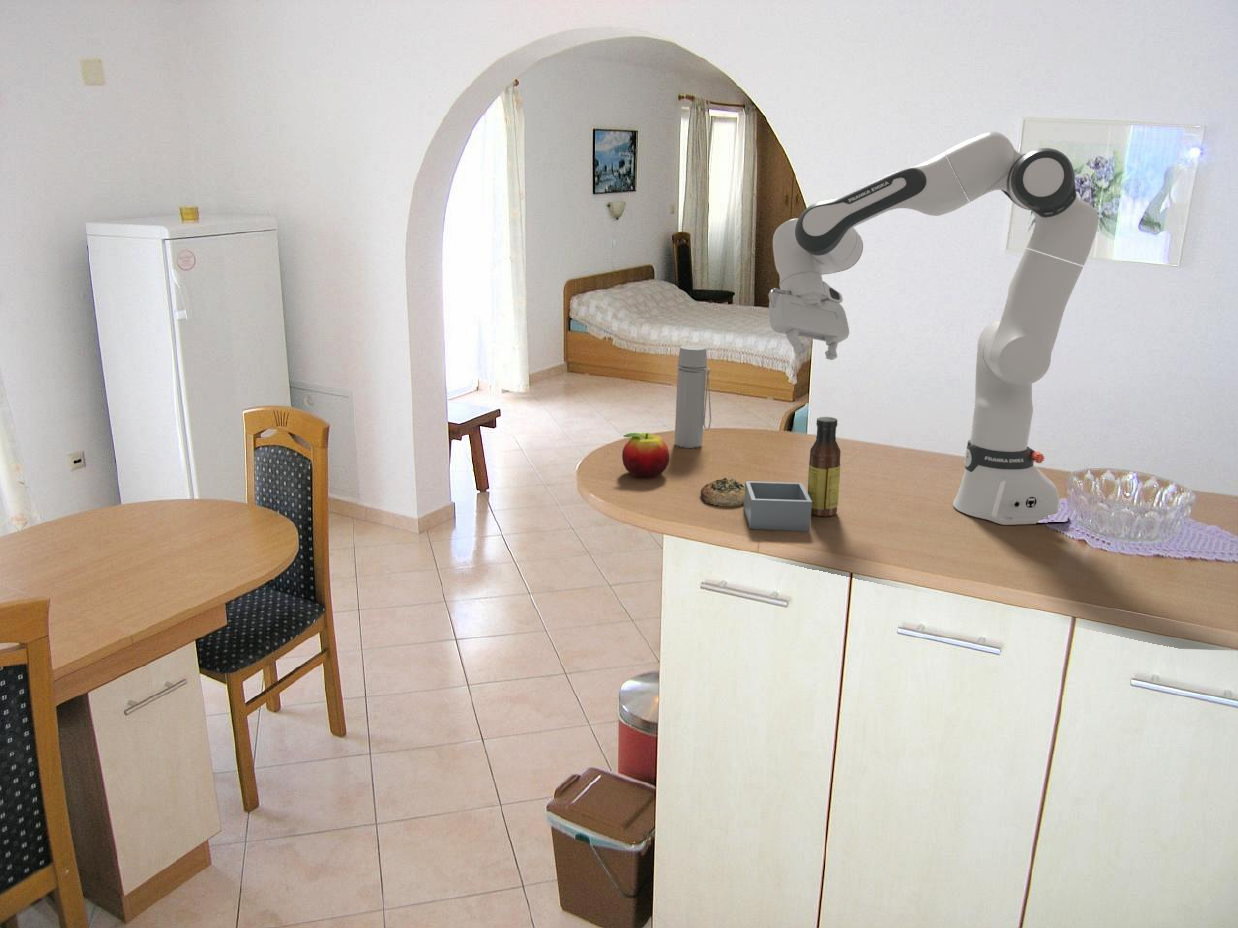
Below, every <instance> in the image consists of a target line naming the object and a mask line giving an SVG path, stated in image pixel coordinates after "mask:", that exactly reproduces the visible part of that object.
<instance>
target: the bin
mask: <svg viewBox="0 0 1238 928" xmlns="http://www.w3.org/2000/svg"><path fill="white" fill-rule="evenodd" d="M744 487H745V493H744V504H743V511H744V515H745V518H746V521H747V524H748V525H747V526H748V527H749V529H750V530H764V531H765V530H768V531H769V530H770V531H774V530H775V531H796V532H797V531H799V532H800V531H803V532H810V528H811V518H812V514H811V508H812V501H811V499H810V497H809V495H808V490H807V489H806V488H805V485H804V483H803V482H782V481H781V482H780V481H754V480H753V481H752V480H751V481H748V480H746V481H745V483H744Z"/></svg>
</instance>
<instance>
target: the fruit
mask: <svg viewBox="0 0 1238 928" xmlns="http://www.w3.org/2000/svg"><path fill="white" fill-rule="evenodd" d="M623 437H624V438H630V439H628V440H627V441H626V443H625V444H624V446H623V449H622V454H621V457H622V458H621V459H622V464H623V467H624V468H625V470H626V471H627V473H629V474H630V475H632V476H633V477H635V478H641V479H652V478H653V479H654V478H657V477H659V476H660V475H661V474H663V472H664V471H665V470H666V469H667V466H668V465H669V462H670V453H669V447H668V445H667V444H666V442H665V440H664V439H663V438H662V437H661V436H659V435H656V434H653V433H652V434H651V433H649V432H640V433H639V432H630V433H626V434H625V435H623Z"/></svg>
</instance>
